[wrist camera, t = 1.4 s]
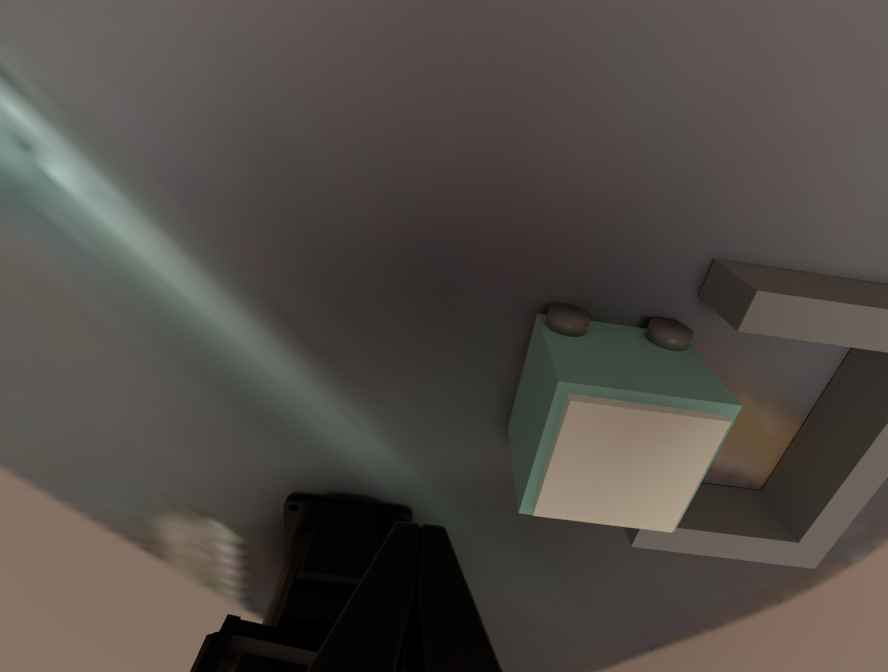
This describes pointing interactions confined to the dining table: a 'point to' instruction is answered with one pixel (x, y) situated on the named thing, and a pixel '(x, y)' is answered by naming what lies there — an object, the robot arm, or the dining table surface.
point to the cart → (614, 421)
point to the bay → (823, 433)
